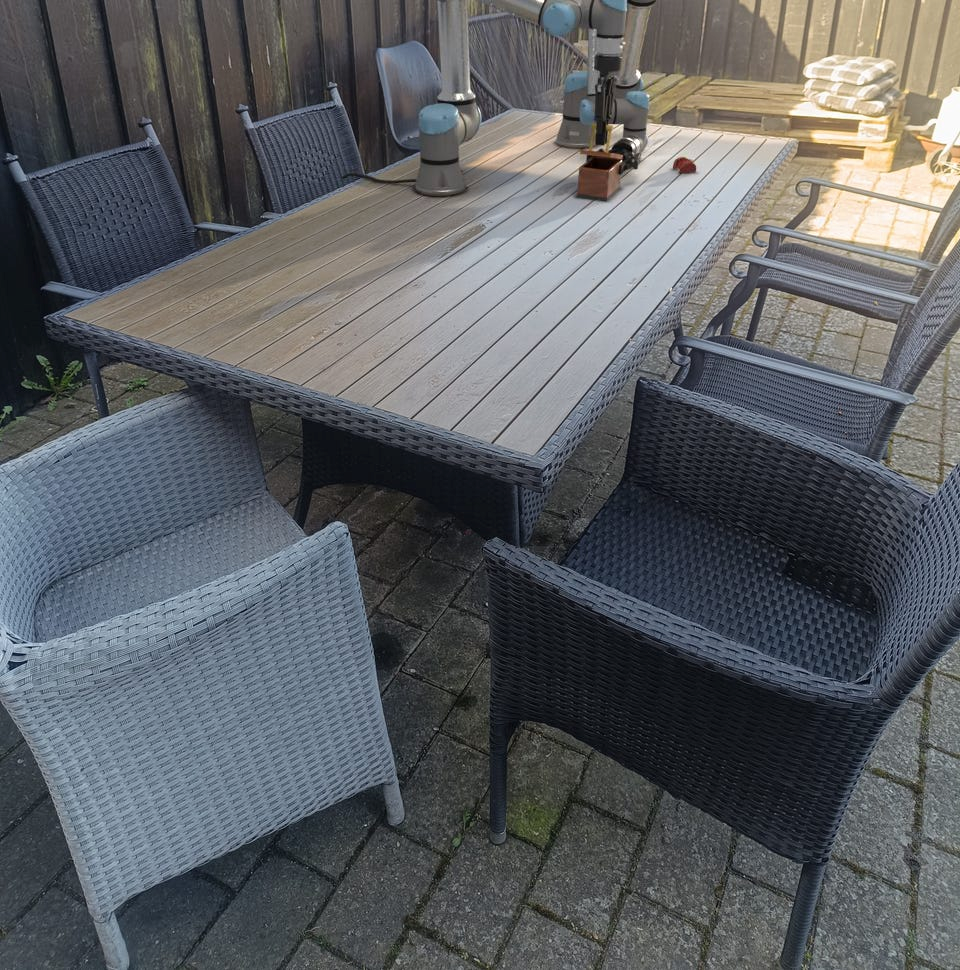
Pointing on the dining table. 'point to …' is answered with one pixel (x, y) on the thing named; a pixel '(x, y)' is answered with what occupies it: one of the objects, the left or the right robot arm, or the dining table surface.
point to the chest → (599, 178)
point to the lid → (606, 154)
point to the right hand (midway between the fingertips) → (604, 168)
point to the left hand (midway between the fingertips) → (601, 143)
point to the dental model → (684, 165)
